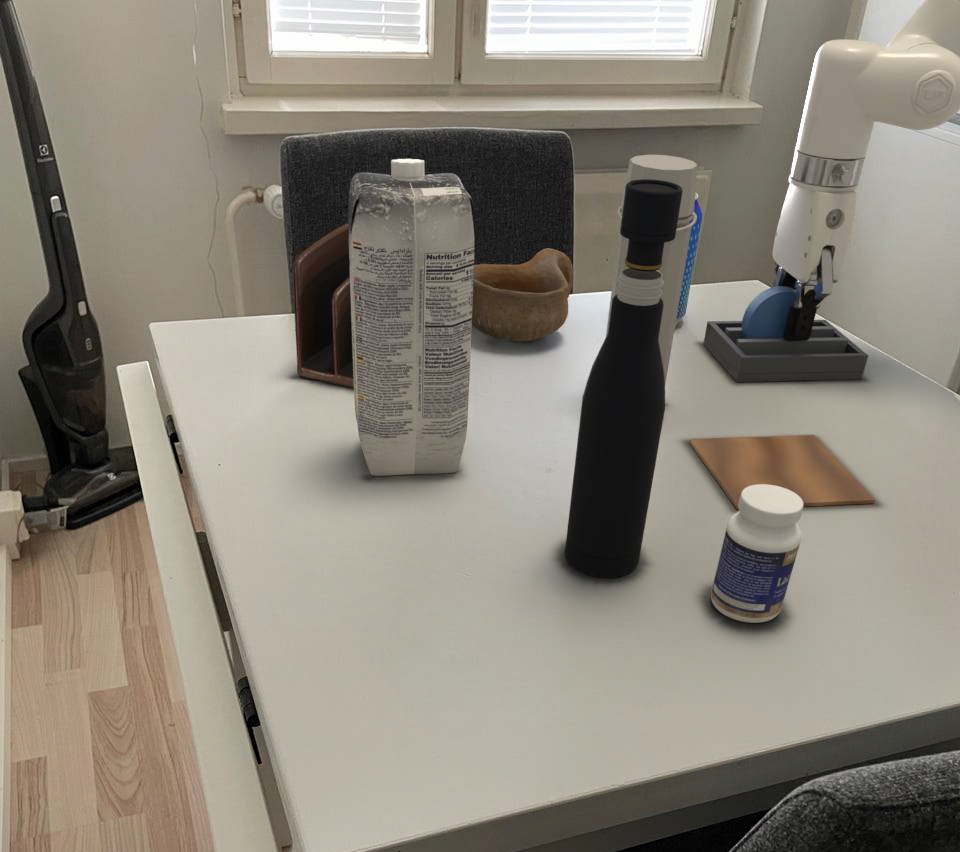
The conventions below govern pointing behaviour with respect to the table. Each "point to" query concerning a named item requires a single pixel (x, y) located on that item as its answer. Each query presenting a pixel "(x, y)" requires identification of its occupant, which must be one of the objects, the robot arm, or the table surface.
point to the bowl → (522, 297)
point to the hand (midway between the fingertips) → (787, 330)
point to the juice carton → (411, 317)
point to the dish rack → (785, 354)
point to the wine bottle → (624, 397)
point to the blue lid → (768, 313)
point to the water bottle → (673, 251)
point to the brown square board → (781, 468)
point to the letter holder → (324, 310)
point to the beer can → (689, 262)
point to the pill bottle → (758, 554)
